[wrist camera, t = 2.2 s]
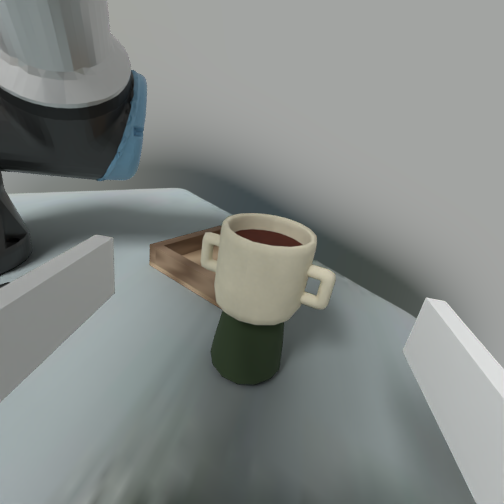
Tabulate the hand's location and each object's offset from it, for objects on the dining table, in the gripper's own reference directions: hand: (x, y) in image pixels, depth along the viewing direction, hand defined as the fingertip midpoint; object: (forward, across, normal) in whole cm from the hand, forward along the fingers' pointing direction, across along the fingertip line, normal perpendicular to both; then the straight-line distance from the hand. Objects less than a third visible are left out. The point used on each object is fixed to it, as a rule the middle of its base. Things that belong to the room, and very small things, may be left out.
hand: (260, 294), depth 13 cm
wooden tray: (+28, -5, -13) cm, 31 cm away
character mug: (+10, 0, -14) cm, 17 cm away
